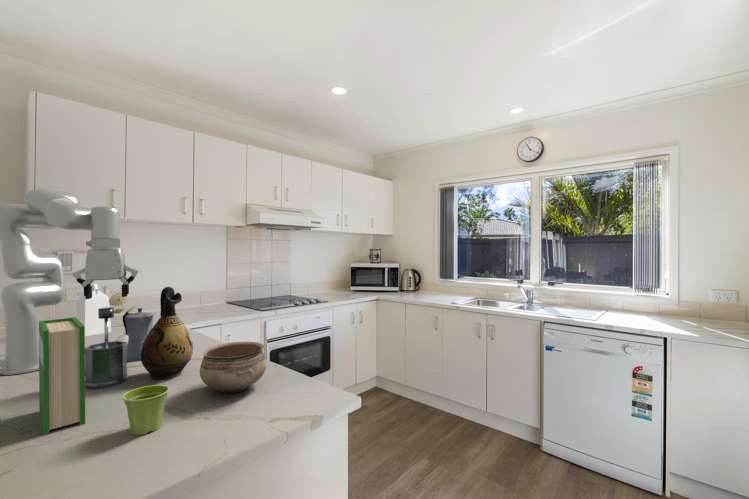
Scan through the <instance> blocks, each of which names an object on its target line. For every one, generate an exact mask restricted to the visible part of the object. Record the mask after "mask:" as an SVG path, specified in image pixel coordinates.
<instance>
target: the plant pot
mask: <svg viewBox="0 0 749 499" xmlns="http://www.w3.org/2000/svg"><path fill="white" fill-rule="evenodd" d="M169 391H170V386H168V385H166V384H165V385H163V384H153V385H147V386H142V387H141V386H140V387H138V388H134V389H131V390H129V391H127V392H125V393H124V394H122V396H121V399H122V401H124V404H125V407H126V410H127V416H128V421H129V422H128V423H129V428H130V432H131V433H132V434H133V435H145V434H148V433H149V432H154V431H156V430H158V429H159V428H160V427H162V423H163V416H164V410H165V406H166V405H165V404H166V398H167V397H168V393H169Z"/></svg>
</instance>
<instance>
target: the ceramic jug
mask: <svg viewBox="0 0 749 499" xmlns="http://www.w3.org/2000/svg"><path fill="white" fill-rule="evenodd" d="M181 294H182V293H180V292H176V293H175V289H174V288H173V287H171V286H166V287H164V288H162V290H161V292H160V299H159V301H160V315H159V316H160V318H158V320H157V321H156V323H155V324H154V325H152V329H151V330H150V332H149V334H148V335H147V337H146V339H145V341H144V343H143V347H142V350H141V360H140V361H141V364H142V366H143V368H144V369H145V370H146V372H148V373H149V376H150V379H152V380H153V381H159V380H161V381H162V380H163V381H165V380H170V379H173V378H176V377H179V376H180V375H181V374H182V372H183V371H184V369H185V367H186V366H187V365H188V364H189V362H191V359H192V356H193V351H194V343H193V340H192V337H191V335H190V332H189V330H188V329H187V327H186V326H185V324H184V323H183V321H182V320H181V318H179V316H178V314H177V313H176V307H175V306H176V305H177V304H179V303H180V302H182V298H183V296H182V295H181Z"/></svg>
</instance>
